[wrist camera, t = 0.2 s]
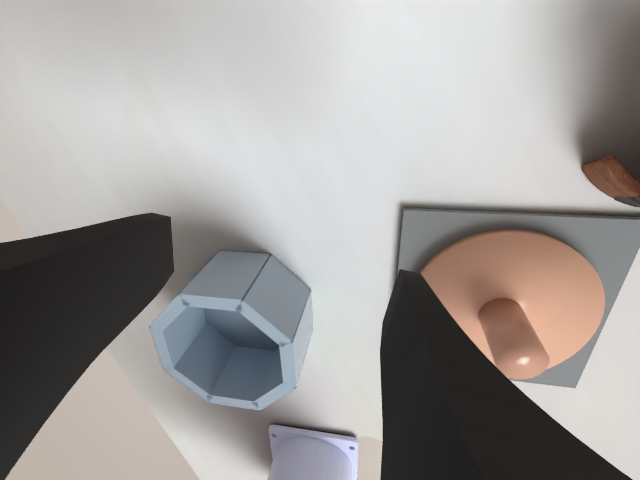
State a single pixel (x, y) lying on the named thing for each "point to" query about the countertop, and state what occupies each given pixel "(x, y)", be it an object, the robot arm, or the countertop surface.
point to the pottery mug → (613, 180)
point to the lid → (519, 297)
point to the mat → (576, 230)
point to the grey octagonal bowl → (237, 331)
